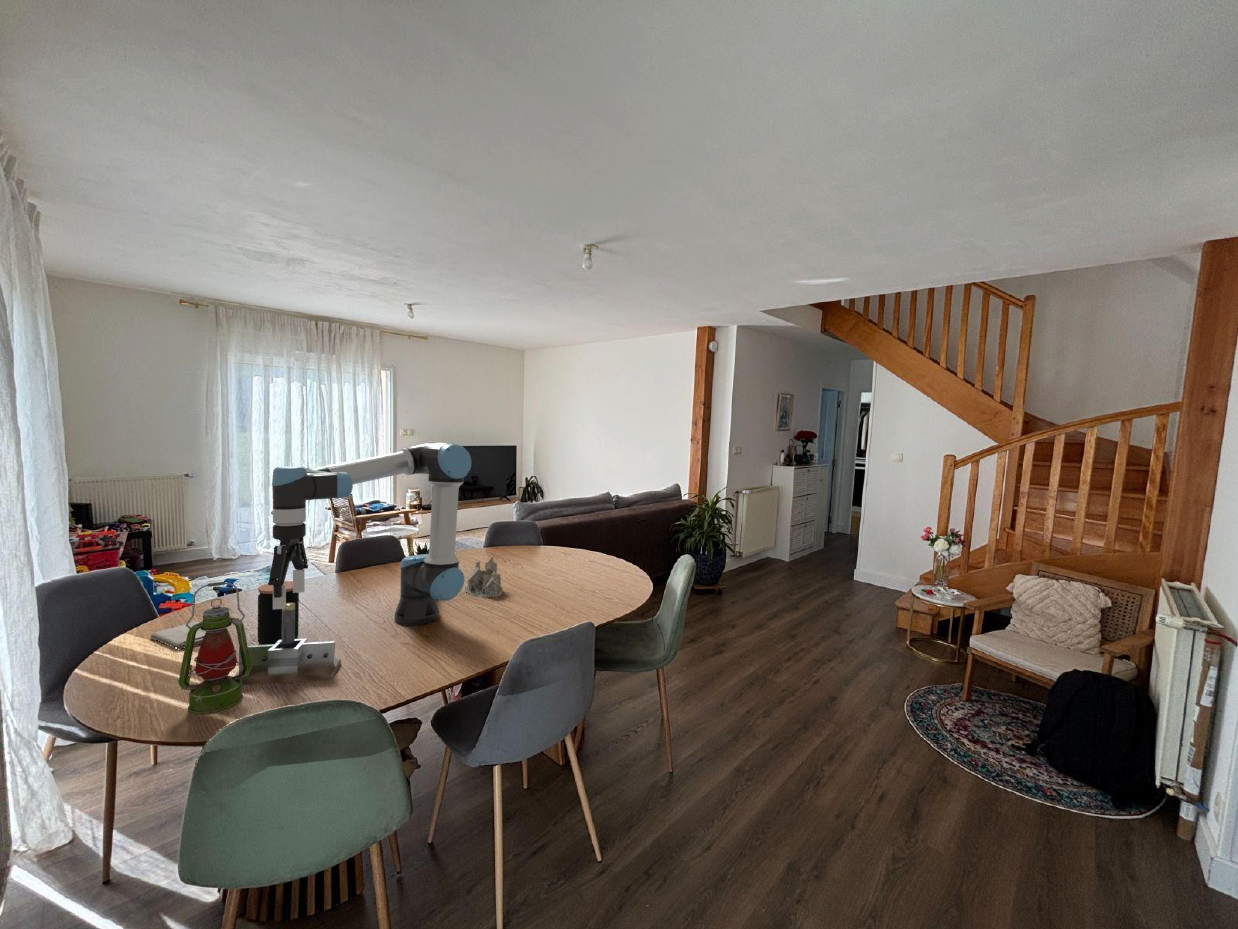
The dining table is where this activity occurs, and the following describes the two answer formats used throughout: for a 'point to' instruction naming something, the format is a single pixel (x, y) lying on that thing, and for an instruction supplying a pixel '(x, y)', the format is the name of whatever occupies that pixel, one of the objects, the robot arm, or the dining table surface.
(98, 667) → the dining table surface
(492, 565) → the ceramic cottage
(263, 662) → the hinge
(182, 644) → the washcloth
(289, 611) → the pin
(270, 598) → the coffee jar
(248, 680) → the hinge board
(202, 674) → the lantern
